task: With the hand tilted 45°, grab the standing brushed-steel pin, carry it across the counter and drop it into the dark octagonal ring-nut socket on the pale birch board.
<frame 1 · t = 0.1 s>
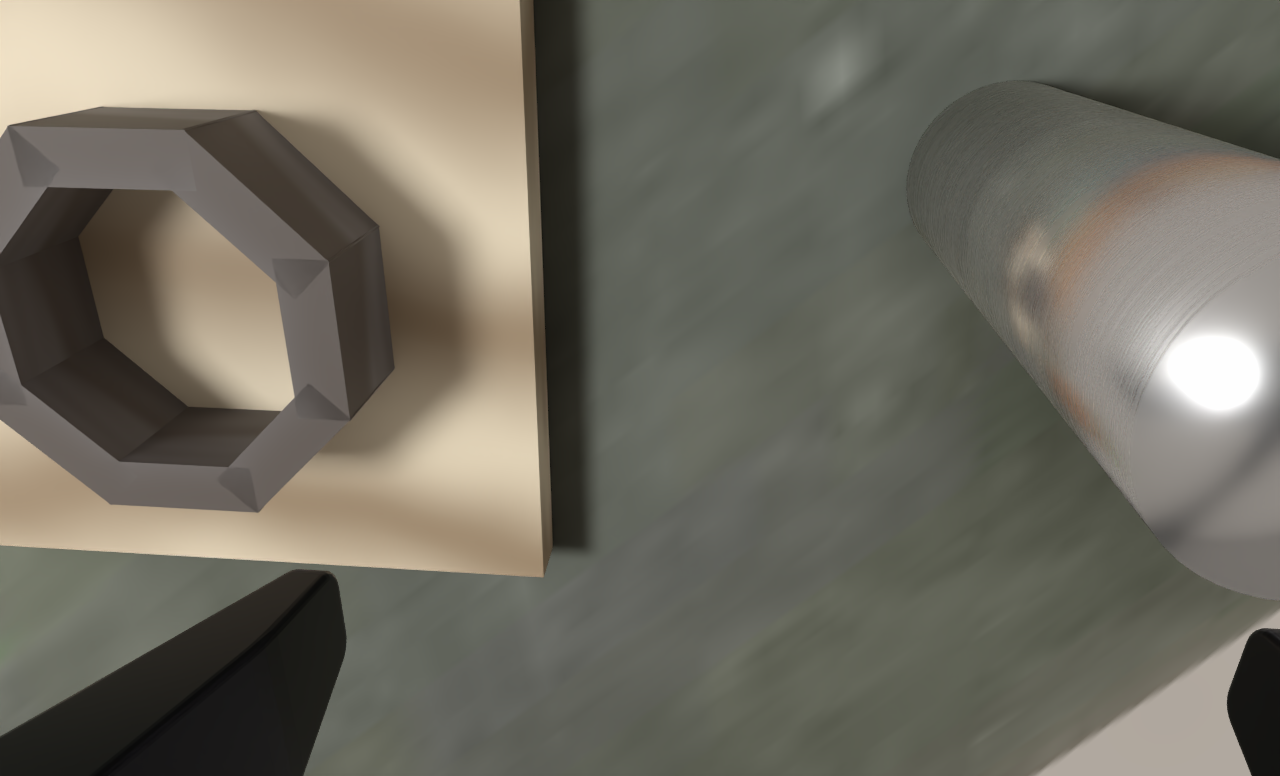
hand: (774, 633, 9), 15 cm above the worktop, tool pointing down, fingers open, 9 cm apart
pin: (1002, 179, 21), on the worktop
socket board: (243, 274, 24), on the worktop
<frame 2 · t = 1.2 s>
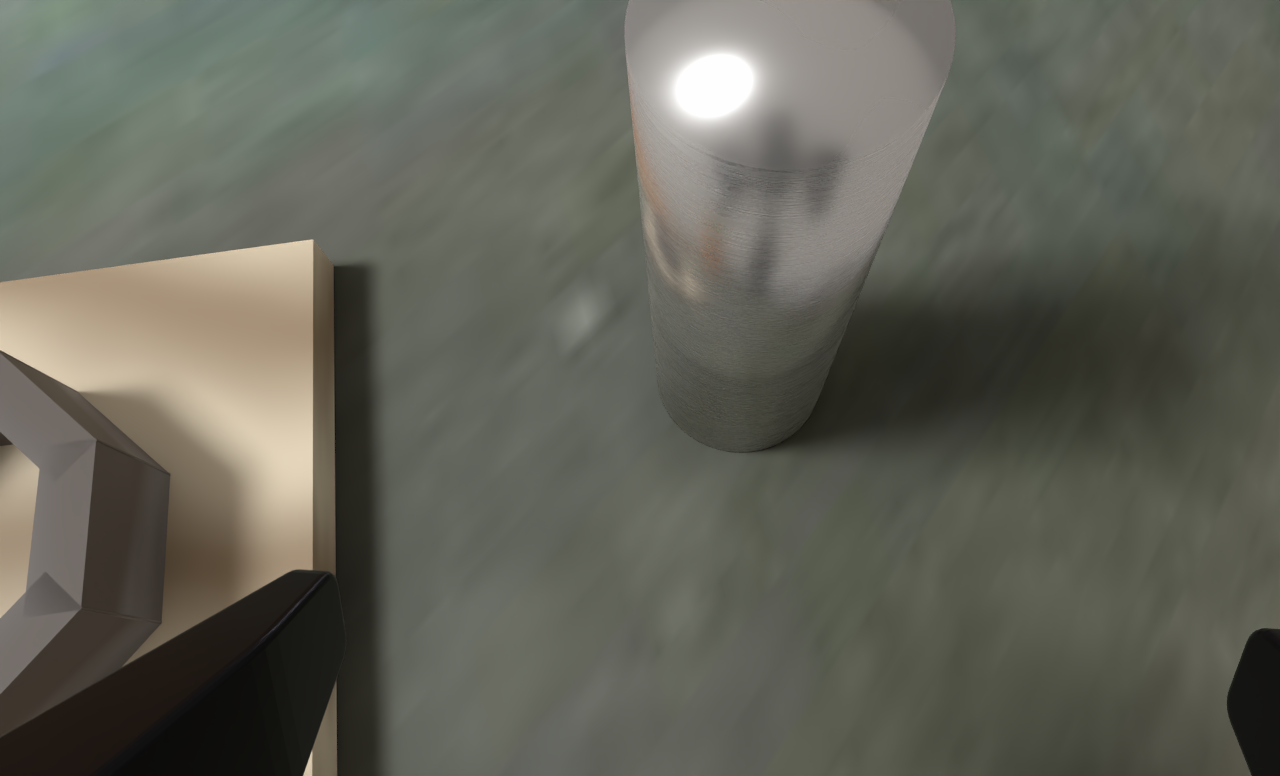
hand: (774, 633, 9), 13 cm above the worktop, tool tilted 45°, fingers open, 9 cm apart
pin: (738, 373, 24), on the worktop
socket board: (29, 579, 23), on the worktop
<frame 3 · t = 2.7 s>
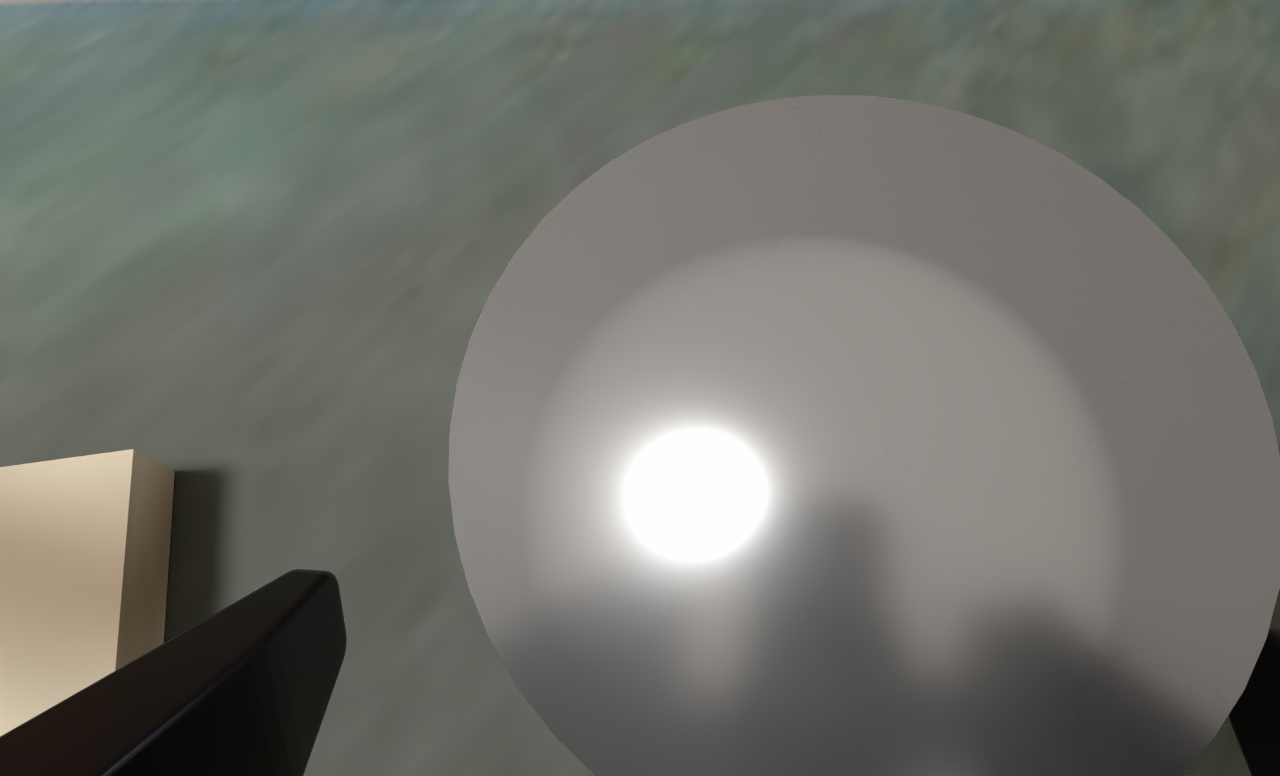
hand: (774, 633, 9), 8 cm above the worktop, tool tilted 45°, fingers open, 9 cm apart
pin: (735, 645, 17), on the worktop
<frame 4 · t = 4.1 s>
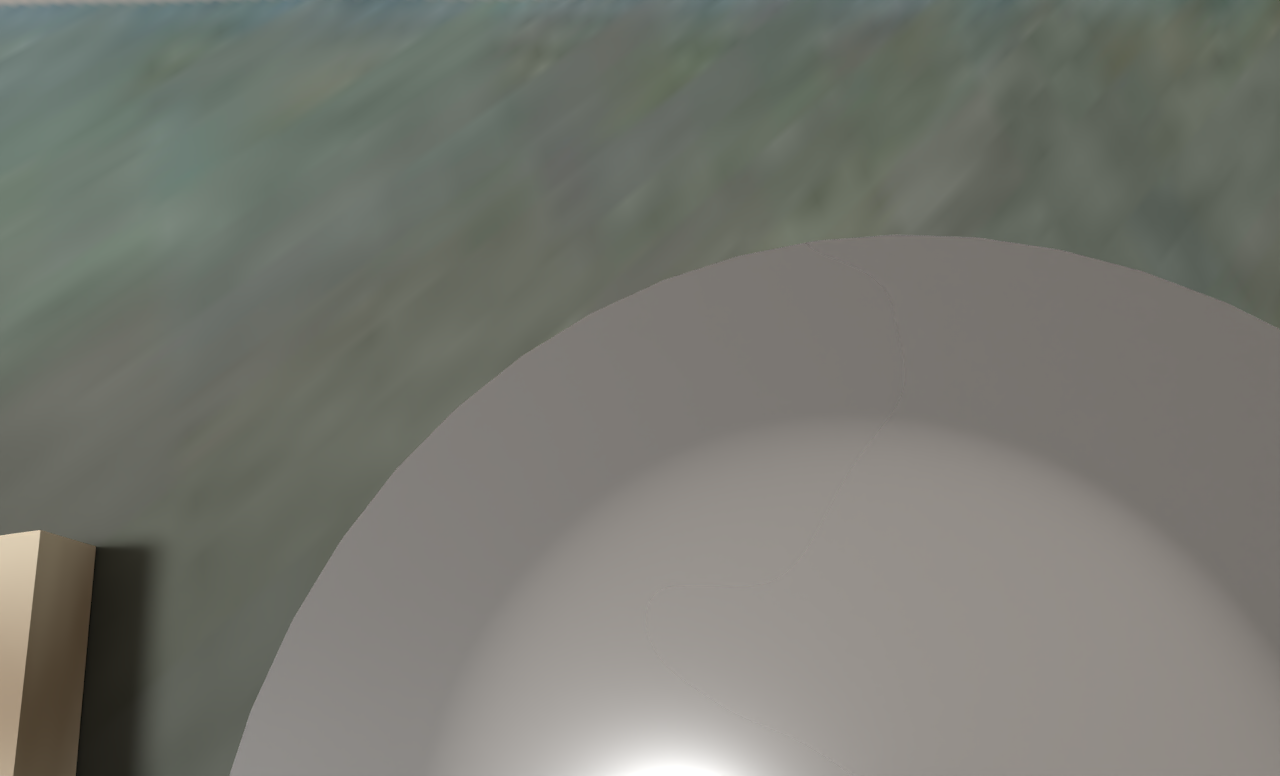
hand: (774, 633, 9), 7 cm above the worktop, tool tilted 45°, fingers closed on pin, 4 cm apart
pin: (736, 759, 15), on the worktop, touching gripper
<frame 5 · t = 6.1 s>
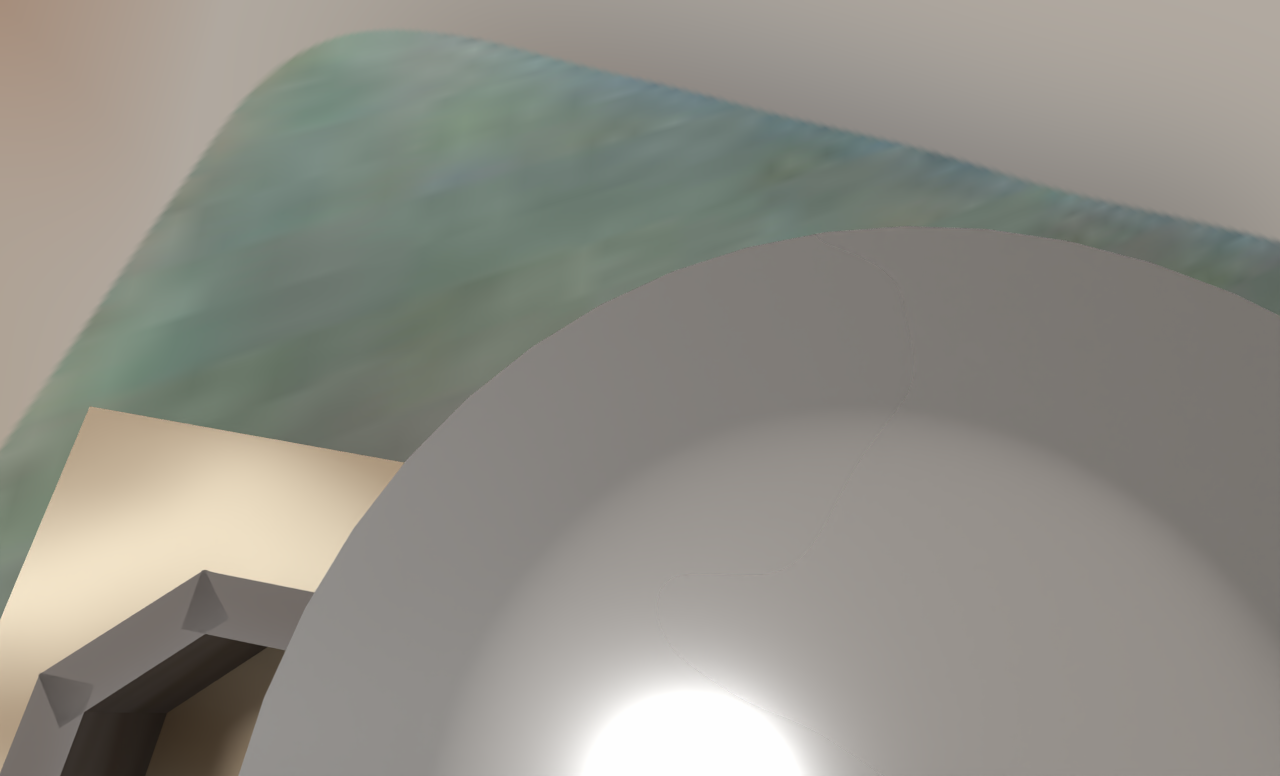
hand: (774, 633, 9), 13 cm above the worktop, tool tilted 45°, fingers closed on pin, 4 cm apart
pin: (739, 756, 15), point 7 cm above the worktop, touching gripper
when the fingers open (9 cm above the worktop, at t = 8.5 s): pin stays where it is, resting on socket board.
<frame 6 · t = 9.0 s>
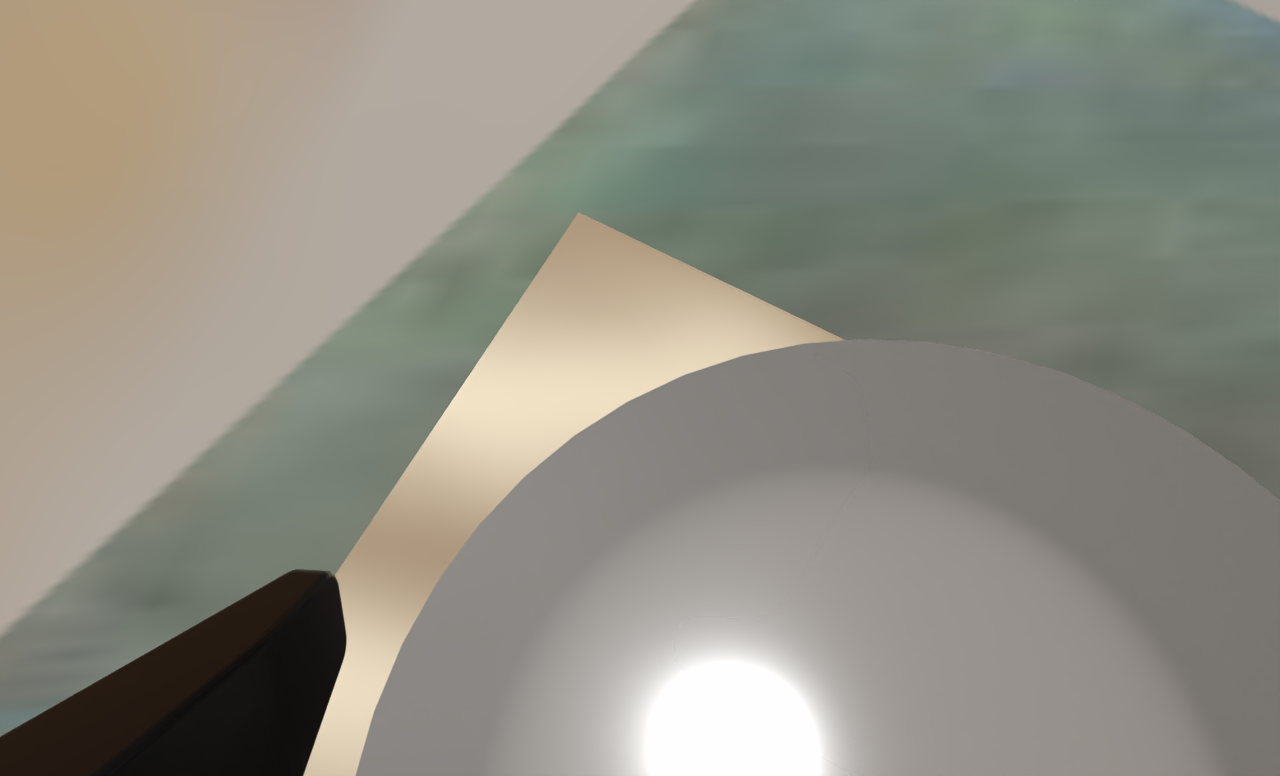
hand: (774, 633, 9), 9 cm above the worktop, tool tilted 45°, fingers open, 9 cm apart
pin: (734, 758, 16), point 2 cm above the worktop, touching socket board
socket board: (730, 753, 17), on the worktop
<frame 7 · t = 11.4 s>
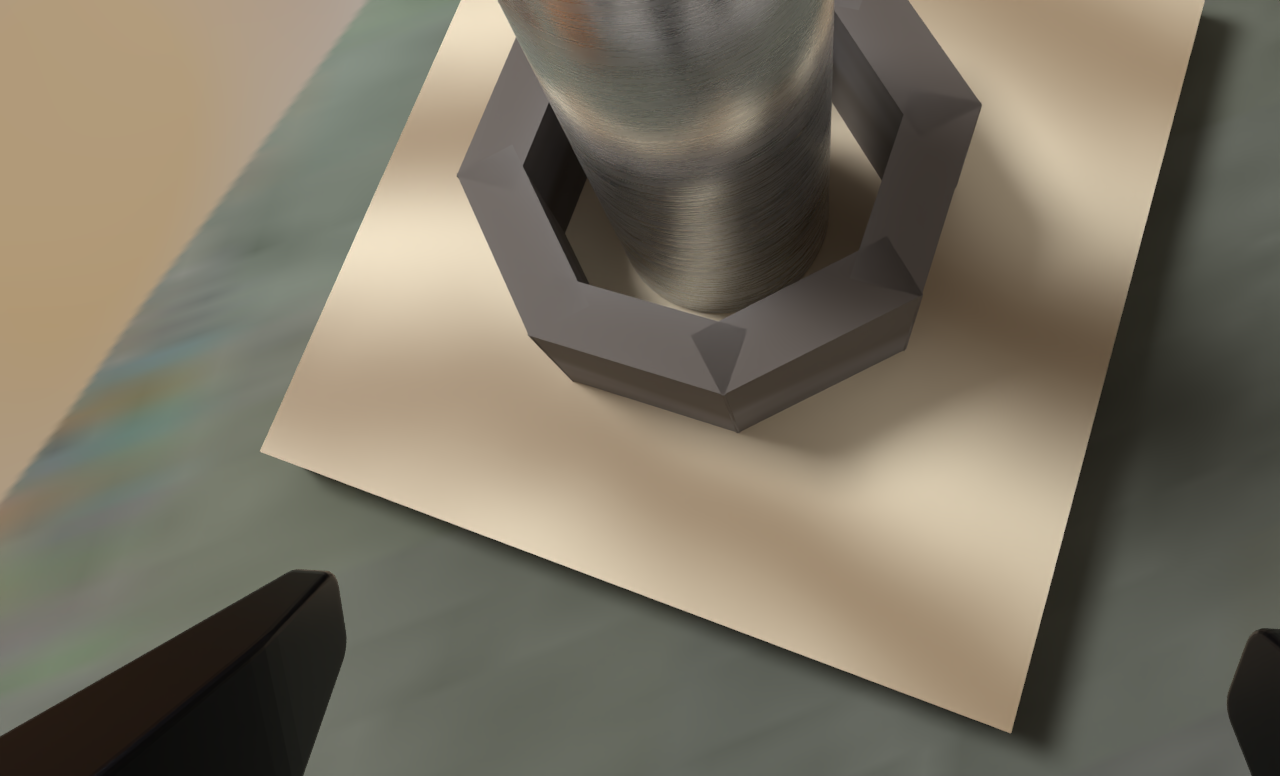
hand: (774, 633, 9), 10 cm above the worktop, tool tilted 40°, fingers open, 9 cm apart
pin: (722, 215, 19), point 2 cm above the worktop, touching socket board
socket board: (729, 243, 21), on the worktop
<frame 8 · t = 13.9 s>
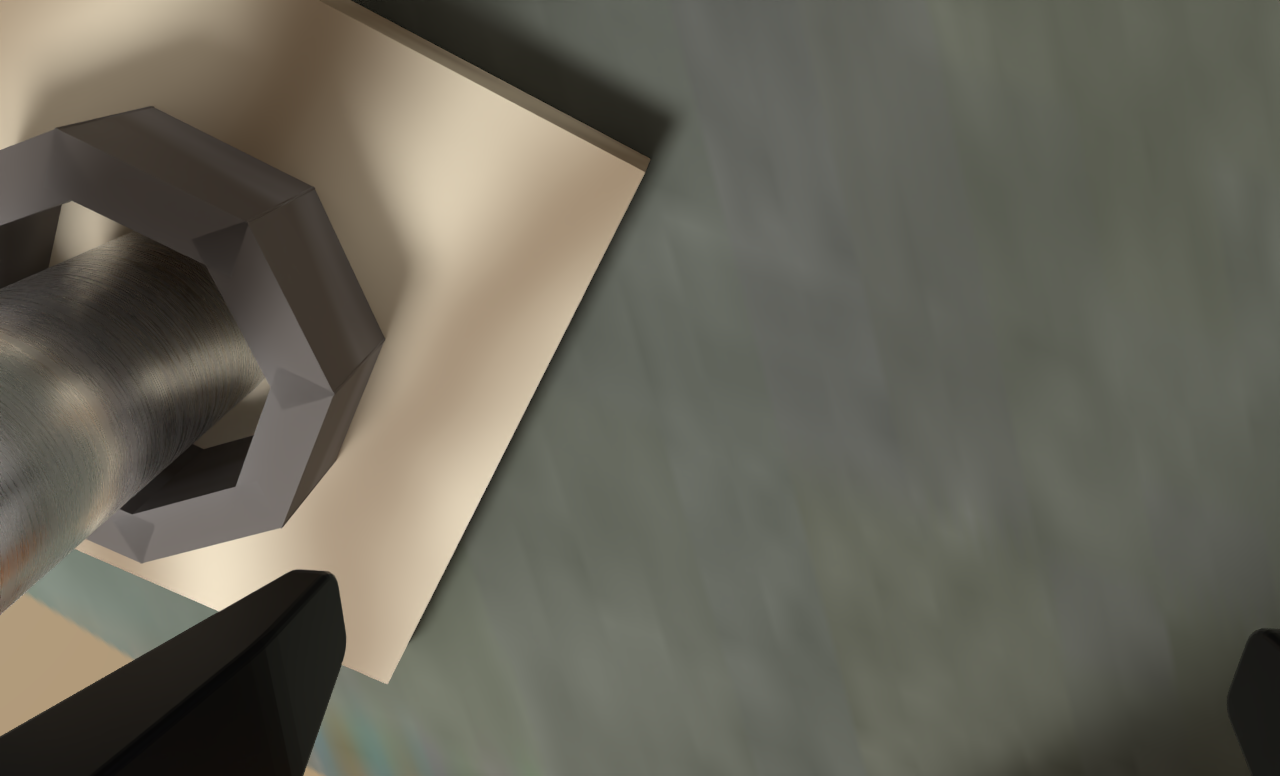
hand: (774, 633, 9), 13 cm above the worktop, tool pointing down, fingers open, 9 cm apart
pin: (185, 318, 21), point 2 cm above the worktop, touching socket board
socket board: (217, 297, 22), on the worktop
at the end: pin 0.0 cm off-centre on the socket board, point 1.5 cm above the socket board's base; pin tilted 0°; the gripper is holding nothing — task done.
